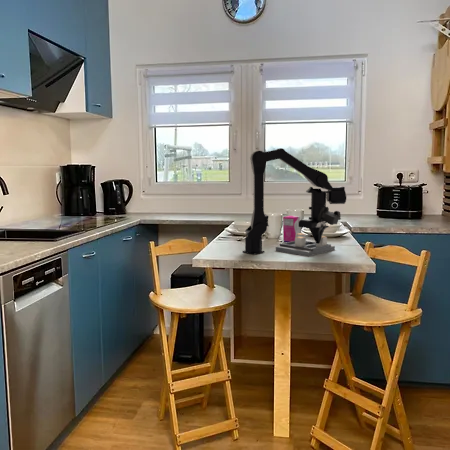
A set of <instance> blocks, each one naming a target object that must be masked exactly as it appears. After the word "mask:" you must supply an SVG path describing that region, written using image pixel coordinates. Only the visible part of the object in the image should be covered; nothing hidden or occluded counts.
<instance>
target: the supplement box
mask: <svg viewBox="0 0 450 450" xmlns="http://www.w3.org/2000/svg"><path fill="white" fill-rule="evenodd" d="M282 220H283V221H282V226H283V227H282V231H283V232H282V233H283V235H282V236H283V237H282V238H283V243H287V242H291V241H295V236H296V234H298V233H301V227H298V222H299V221H300V220H301V216H300V215H287V216H283V217H282Z"/></svg>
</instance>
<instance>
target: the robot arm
mask: <svg viewBox="0 0 450 450" xmlns="http://www.w3.org/2000/svg"><path fill="white" fill-rule="evenodd" d="M249 159H250V160H249V161H250V165H251V169H252V174H253V175H252V176H253V211H252V214H251V220H250V225H249V226H248V227H247V228H246V229H245V231H244V232H245V235H246V236H245V237H244V239H245V240H244V241H245V242H244V243H245V245H244V246H245V249H244V250H242V253H245V254H251V255H257V254H262V253H266V252H265V250H263V239H262V238H263V237H262V236H263V235H264V234H265V232H267V229H268V227H269V226H270V225H269V223H268V222H269V215H268V214H265V211H264V210H265V208H264V206H265V205H264V199H265V198H264V197H265V196H264V193H265V192H264V189H265V188H264V187H265V184H264V182H265V180H264V175H265V171H266V166H267V162H272V161H275V160H279V161H281V162H283V163H284V164H285V165H287V166H289V167H290V168H291V169H293V170H295V171H296V172H297V173H300V174H301V175H302V176H303V177H304V178H305V179H306V181H308V182H309V183H310V184H311V185H312V186H309V188H308V189H307V190H306V191H305V193H307V194H311V195H310V196H311V198H310V199H311V201H310V206H308V210H310V216H308V218H303V219H300V221H299V222H298V227H300V228H305V229H308V230H309V232H310V234H311V235H312V237H313V239H314V240H313V241H314V242H316V243H317V244H318V243H320V240H321V237H322V236H323V233H324V231H326V229H327V228H329V226H330V225H331V226H333V225H337V224H338V222H339V221H340V220H342V218H341V212H340V211H339V210H335V211H334V212H333V211H329V209H330V208H329V206H327V202H328V203H329V204H330V205H345V204H346V202H347V194H346V190H345V186H336V187H335V186H333V185H331V183H330V182H329V177H328V174H326V173H325V172H322V171H320V170H318V169H315V168H312V167H310V166H308V165H307V164H305V163H304V162H303V161H301V160H300V159H298V158H296V157H295V156H293V155H292V154H290V153H289V152H287V151H286V150H285V149H284V148H276V149H273V150H269V151H263V150H255V151H253V152H252V153H251V154H250V157H249ZM313 186H314V187H317V188H313ZM328 224H329V225H328Z"/></svg>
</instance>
